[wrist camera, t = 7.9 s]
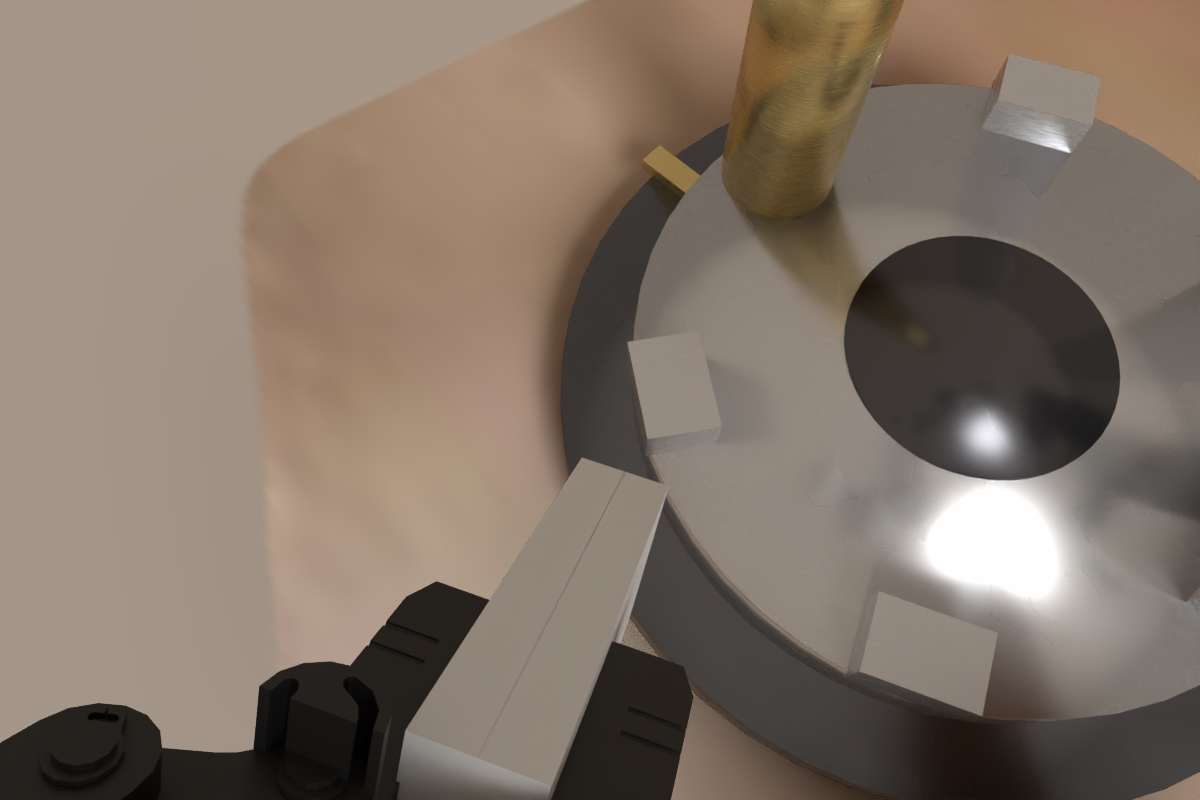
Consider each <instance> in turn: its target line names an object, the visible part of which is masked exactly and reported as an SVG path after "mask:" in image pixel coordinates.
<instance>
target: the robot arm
mask: <svg viewBox="0 0 1200 800" xmlns="http://www.w3.org/2000/svg"><path fill="white" fill-rule="evenodd" d="M668 488H669V486H667V485H664V484H661V483H658V482H655V481H652V480H649V479H646V478H643V477H640V476H637V475H634V474H631V473H628V472H625V471H621V470H618V469H615V468H612V467H609V466H606V465H603V464H600V463H597V462H594V461H591V460H588V459H585V458H581V460H580V461H579V463H578V464H577V466H576V467H575V469H574V470H573V472H572V474H571V475H570V477H569V478H568V480H567V481H566V483H565V484H564V486H563V487H562V489H561V491H560V492H559V494H558V495H557V497H556V498H555V500H554V501H553V503H552V504H551V506H550V508H549V509H548V511H547V512H546V514H545V515H544V517H543V518H542V520H541V522H540V523H539V525H538V526H537V528H536V529H535V531H534V532H533V534H532V535H531V537H530V539H529V540H528V542H527V543H526V545H525V546H524V548H523V549H522V551H521V552H520V554H519V556H518V557H517V559H516V560H515V562H514V563H513V565H512V566H511V568H510V569H509V571H508V573H507V574H506V576H505V577H504V579H503V580H502V582H501V583H500V585H499V586H498V588H497V590H496V591H495V593H494V594H493V596H492V597H491V599H490V600H488V599H485V598H482V597H479V596H476V595H474V594H471V593H468V592H465V591H462V590H460V589H457V588H454V587H451V586H448V585H445V584H443V583H440V582H437V581H436V582H434V583H432V584H430V585H428V586H427V587H425V588H423V589H421V590H419V591H417V592H415V593H413V594H411V595H409V596H407V597H406V598H405V599H404V600H403V601H402V603H401V604H400V605H399V606H398V608H397V609H396V610H395V611H394V612H393V614H392V615H391V616H390V617H389V619H388V620H387V622H386V625H385V626H382V627H381V629H380V630H379V631H378V632H377V633H376V635H375V636H374V637H373V638H372V640H371V642H370V644H369V646H366V647H365V648H364V650H363V651H362V652H361V653H360V654H359V656H358V657H357V658H356V659H355V661H354V662H353V663H352V664H351V666H349V665H344V664H339V663H335V662H315V663H303V664H300V665H297V666H294V667H291V668H288V669H285V670H282V671H279V672H278V673H277V674H275V675H274V676H272V677H271V678H270V679H268V680H267V681H266V682H265V683H263V684H262V685H261V686H259V696H258V707H257V718H256V728H255V739H254V749H253V750H249V751H243V752H237V753H214V752H202V751H191V750H179V749H168V748H167V749H166V748H162V745H161V736H160V730H159V729H158V728H157V727H156V725H155V724H154V723H153V722H152V720H151V719H150V718H149V717H148V716H147V715H145V714H143V713H141V712H139V711H136V710H134V709H132V708H130V707H127V706H123V705H112V704H100V703H97V704H91V705H85V706H79V707H73V708H68V709H65V710H63V711H61V712H58V713H56V714H53V715H51V716H49V717H47V718H44V719H42V720H39V721H38V722H36V723H34V724H32V725H31V726H29V727H27V728H25V729H24V730H22V731H20V732H18V733H17V734H15V735H13V736H11V737H10V738H8V739H6V740H4V741H3V742H1V743H0V800H671V796H672V791H673V787H674V782H675V778H676V773H677V769H678V764H679V760H680V754H681V750H682V746H683V741H684V737H685V731H686V728H687V723H688V719H689V714H690V710H691V705H692V701H693V695H692V692H691V689H690V685H689V682H688V679H687V676H686V672H685V669H684V666H681V665H678V664H676V663H673V662H670V661H667V660H664V659H661V658H659V657H656V656H653V655H650V654H647V653H645V652H642V651H639V650H636V649H633V648H630V647H628V646H625V645H622V644H620V643H621V640H622V637H623V635H624V632H625V629H626V627H627V624H628V621H629V618H630V615H631V611H632V608H633V605H634V601H635V598H636V595H637V591H638V588H639V585H640V581H641V578H642V575H643V571H644V568H645V565H646V561H647V558H648V555H649V551H650V548H651V545H652V541H653V538H654V534H655V531H656V528H657V524H658V521H659V518H660V514H661V511H662V508H663V504H664V501H665V498H666V494H667V491H668Z"/></svg>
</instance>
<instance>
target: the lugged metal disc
mask: <svg viewBox="0 0 1200 800" xmlns="http://www.w3.org/2000/svg"><path fill="white" fill-rule="evenodd" d="M903 3H904V0H753V3H752V8H751V13H750V18H749V24H748V29H747V34H746V39H745V44H744V50H743V55H742V60H741V65H740V70H739V75H738V81H737V86H736V91H735V96H734V101H733V107H732V112H731V117H730V122H729V127H728V133H727V138H726V143H725V148H724V153H723V155H722V156H721V157H719V158H718V159H717V160H716V161H714V162H713V163H712V164H711V165H710V166H709V168H708V169H707V170H706V171H705V172H704V173H703V174H702V175H701V176H700V177H699V178H698V179H697V180H696V182H695V183H694V184H693V185H692V186H691V187H690V188H689V189H688V191H687V192H686V193H685V195H684V196H683V198H682V199H681V201H680V202H679V204H678V205H677V206H676V208H675V209H674V211H673V212H672V214H671V215H670V217H669V218H668V220H667V222H666V224H665V226H664V228H663V230H662V232H661V234H660V236H659V238H658V240H657V242H656V244H655V246H654V248H653V250H652V253H651V256H650V259H649V262H648V265H647V268H646V272H645V275H644V278H643V281H642V284H641V287H640V293H639V300H638V306H637V312H636V318H635V325H634V338H633V341H630V342H627V360H626V364H627V369H628V373H629V378H630V383H631V388H632V403H633V411H634V418H635V426H636V433H637V438H638V442H639V446H640V449H641V453H642V456H643V460H644V464H645V467H646V471H647V475H648V477H649V480H652V481H655V482H658V483H661V484H664V485H667V486H669V488H668V491H667V494H666V498H665V501H664V504H663V508H662V510H663V512H664V515H665V516H666V518H667V520H668V521H669V523H670V525H671V527H672V528H673V530H674V532H675V533H676V535H677V537H678V538H679V540H680V542H681V544H682V545H683V547H684V549H685V550H686V552H687V554H688V555H689V556H690V557H691V559H692V560H693V561H694V563H695V564H696V565H697V566H698V568H699V569H700V570H701V572H702V573H703V574H704V575H705V577H706V578H707V579H708V581H709V582H710V583H711V584H712V586H713V587H714V588H715V590H716V591H717V592H718V593H719V594H720V595H721V596H722V597H723V598H724V599H725V600H726V601H727V602H728V603H729V604H730V605H731V606H732V607H733V608H734V609H735V610H736V611H737V612H738V613H739V614H740V615H741V616H742V617H743V618H744V619H745V620H746V621H747V622H748V623H749V624H750V625H752V626H753V627H754V628H755V629H757V630H758V631H759V632H761V633H762V634H763V635H764V636H766V637H767V638H768V639H770V640H771V641H772V642H773V643H775V644H776V645H777V646H779V647H780V648H781V649H782V650H784V651H785V652H786V653H787V654H789V655H790V656H792V657H794V658H795V659H797V660H799V661H800V662H802V663H804V664H805V665H807V666H809V667H811V668H812V669H814V670H816V671H817V672H819V673H821V674H822V675H824V676H826V677H827V678H829V679H831V680H832V681H835V682H837V683H839V684H841V685H844V686H846V687H848V688H850V689H853V690H855V691H857V692H860V693H862V694H864V695H866V696H869V697H871V698H873V699H875V700H878V701H881V702H884V703H888V704H891V705H894V706H898V707H901V708H904V709H908V710H911V711H914V712H918V713H921V714H924V715H929V716H935V717H941V718H947V719H954V720H960V721H966V722H972V723H993V724H1032V723H1040V722H1049V721H1057V720H1066V719H1075V718H1083V717H1092V716H1101V715H1109V714H1117V713H1121V712H1124V711H1128V710H1132V709H1136V708H1139V707H1143V706H1147V705H1150V704H1154V703H1158V702H1161V701H1165V700H1167V699H1170V698H1172V697H1174V696H1176V695H1178V694H1181V693H1183V692H1185V691H1187V690H1190V689H1192V688H1194V687H1196V686H1199V685H1200V181H1199V180H1198V179H1196V178H1195V177H1194V176H1193V175H1192V174H1190V173H1189V172H1188V171H1187V170H1185V169H1184V168H1182V167H1181V166H1179V165H1178V164H1176V163H1175V162H1173V161H1172V160H1170V159H1169V158H1167V157H1166V156H1164V155H1163V154H1161V153H1160V152H1158V151H1157V150H1155V149H1154V148H1152V147H1151V146H1149V145H1147V144H1145V143H1143V142H1141V141H1140V140H1138V139H1136V138H1134V137H1132V136H1130V135H1128V134H1127V133H1125V132H1123V131H1121V130H1119V129H1117V128H1115V127H1114V126H1111V125H1109V124H1107V123H1104V122H1102V121H1099V120H1097V119H1095V118H1094V114H1095V109H1096V103H1097V98H1098V92H1099V87H1100V82H1101V77H1098V76H1094V75H1090V74H1087V73H1083V72H1079V71H1075V70H1071V69H1067V68H1064V67H1060V66H1056V65H1052V64H1048V63H1044V62H1040V61H1037V60H1033V59H1029V58H1025V57H1021V56H1017V55H1014V54H1010V53H1009V55H1008V57H1007V59H1006V60H1005V62H1004V64H1003V66H1002V67H1001V69H1000V71H999V73H998V74H997V76H996V78H995V80H994V82H993V83H992V87H991V88H983V87H974V86H966V85H957V84H907V85H895V86H884V87H875V88H871V85H872V82H873V80H874V77H875V75H876V72H877V69H878V67H879V64H880V62H881V59H882V57H883V54H884V51H885V49H886V46H887V44H888V41H889V39H890V36H891V33H892V31H893V28H894V26H895V23H896V21H897V18H898V15H899V13H900V10H901V8H902V5H903Z"/></svg>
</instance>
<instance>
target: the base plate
mask: <svg viewBox="0 0 1200 800" xmlns="http://www.w3.org/2000/svg"><path fill="white" fill-rule="evenodd" d="M884 86H895V85H871V88H875V87H884ZM728 127H729V124H727V125H724V126H722V127H720V128H718V129H716V130H715V131H713V132H712V133H710V134H708V135H707V136H705V137H704V138H702V139H701V140H699V141H697V142H696V143H694V144H693V145H691V146H690V147H688V148H687V149H685V150H683V151H682V152H681V153H680V154H678V155H677V156H676V157H675V156H674V155H672V154H671V153H670V152H668V151H667V150H666V149H664V148H663V147H662V146H660V145H659V146H658V147H657V148H656V149H655V150H653V151H652V152H651V153H650V154H649V155H648V156H646V157H645V158H644V159H643V160H642V168H643V169H644V170H645V171H647V172H648V173H649V174H650V175H652V177H651V178H650V179H649V180H648V181H647V183H646V184H645V185H644V186H643V187H642V188H641V189H640V190H639V191H638V192H637V194H636V195H635V196H634V197H633V198H632V199H631V200H630V201H629V202H628V203H627V205H626V206H625V207H624V208H623V210H622V211H621V212H620V214H619V215H618V217H617V218H616V220H615V221H614V223H613V224H612V226H611V227H610V229H609V230H608V232H607V233H606V234H605V236H604V237H603V239H602V240H601V242H600V244H599V246H598V248H597V250H596V252H595V254H594V256H593V258H592V260H591V262H590V264H589V267H588V269H587V271H586V273H585V275H584V277H583V279H582V282H581V285H580V288H579V291H578V294H577V297H576V301H575V304H574V307H573V310H572V313H571V316H570V319H569V325H568V331H567V336H566V342H565V348H564V354H563V360H562V384H561V415H562V423H563V432H564V440H565V448H566V457H567V465H568V473H569V477H570V475H571V474H572V472H573V470H574V469H575V467H576V466H577V464H578V463H579V461H580V460H581V458H585V459H588V460H591V461H594V462H597V463H600V464H603V465H606V466H609V467H612V468H615V469H618V470H621V471H625V472H628V473H631V474H634V475H637V476H640V477H643V478H646V479H649V477H648V475H647V471H646V467H645V464H644V460H643V456H642V453H641V449H640V446H639V442H638V438H637V433H636V426H635V418H634V411H633V403H632V388H631V383H630V378H629V373H628V369H627V364H626V360H627V342H630V341H633V338H634V325H635V318H636V312H637V306H638V300H639V293H640V287H641V284H642V281H643V278H644V275H645V272H646V268H647V265H648V262H649V259H650V256H651V253H652V250H653V248H654V246H655V244H656V242H657V240H658V238H659V236H660V234H661V232H662V230H663V228H664V226H665V224H666V222H667V220H668V218H669V217H670V215H671V214H672V212H673V211H674V209H675V208H676V206H677V205H678V204H679V202H680V201H681V199H682V198H683V196H684V195H685V193H686V192H687V191H688V189H689V188H690V187H691V186H692V185H693V184H694V183H695V182H696V180H697V179H698V178H699V177H700V176H701V175H702V174H703V173H704V172H705V171H706V170H707V169H708V168H709V166H710V165H711V164H712V163H713V162H714V161H716V160H717V159H718V158H719V157H721V156H722V155H723V153H724V148H725V143H726V138H727V133H728ZM630 619H631V620H632V622H633V623H634V624H635V626H636V627H637V628H638V630H639V631H640V632H641V634H642V635H643V636H644V638H645V639H646V640H647V641H648V643H649V644H650V645H651V647H652V648H653V649H654V651H655V652H656V653H657V655H658V656H659V657H660V658H661V659H664V660H667V661H670V662H673V663H676V664H678V665H681V666H684V669H685V672H686V676H687V679H688V682H689V685H690V689H691V690H692V691H693V692H694V693H695V694H696V695H697V696H698V697H699V698H700V699H702V700H703V701H704V702H706V703H707V704H708V705H709V706H711V707H712V708H713V709H715V710H716V711H717V712H718V713H720V714H721V715H722V716H723V717H725V718H726V719H727V720H729V721H730V722H731V723H732V724H734V725H735V726H736V727H737V728H739V729H740V730H741V731H743V732H744V733H745V734H747V735H748V736H750V737H752V738H754V739H755V740H757V741H759V742H760V743H762V744H764V745H765V746H767V747H769V748H770V749H772V750H774V751H775V752H777V753H779V754H780V755H782V756H784V757H785V758H787V759H789V760H790V761H792V762H794V763H795V764H798V765H800V766H802V767H804V768H807V769H809V770H811V771H814V772H816V773H818V774H821V775H823V776H825V777H827V778H830V779H832V780H834V781H837V782H839V783H841V784H843V785H846V786H848V787H851V788H854V789H858V790H861V791H865V792H868V793H872V794H875V795H878V796H882V797H885V798H889V799H892V800H1132V799H1135V798H1138V797H1141V796H1144V795H1148V794H1151V793H1154V792H1157V791H1161V790H1164V789H1166V788H1168V787H1170V786H1172V785H1174V784H1176V783H1178V782H1180V781H1182V780H1184V779H1186V778H1188V777H1190V776H1192V775H1194V774H1196V773H1198V772H1200V685H1199V686H1196V687H1194V688H1192V689H1190V690H1187V691H1185V692H1183V693H1181V694H1178V695H1176V696H1174V697H1172V698H1170V699H1167V700H1165V701H1161V702H1158V703H1154V704H1150V705H1147V706H1143V707H1139V708H1136V709H1132V710H1128V711H1124V712H1121V713H1117V714H1109V715H1101V716H1092V717H1083V718H1075V719H1066V720H1057V721H1049V722H1040V723H1032V724H993V723H972V722H966V721H960V720H954V719H947V718H941V717H935V716H929V715H924V714H921V713H918V712H914V711H911V710H908V709H904V708H901V707H898V706H894V705H891V704H888V703H884V702H881V701H878V700H875V699H873V698H871V697H869V696H866V695H864V694H862V693H860V692H857V691H855V690H853V689H850V688H848V687H846V686H844V685H841V684H839V683H837V682H835V681H832V680H831V679H829V678H827V677H826V676H824V675H822V674H821V673H819V672H817V671H816V670H814V669H812V668H811V667H809V666H807V665H805V664H804V663H802V662H800V661H799V660H797V659H795V658H794V657H792V656H790V655H789V654H787V653H786V652H785V651H784V650H782V649H781V648H780V647H779V646H777V645H776V644H775V643H773V642H772V641H771V640H770V639H768V638H767V637H766V636H764V635H763V634H762V633H761V632H759V631H758V630H757V629H755V628H754V627H753V626H752V625H750V624H749V623H748V622H747V621H746V620H745V619H744V618H743V617H742V616H741V615H740V614H739V613H738V612H737V611H736V610H735V609H734V608H733V607H732V606H731V605H730V604H729V603H728V602H727V601H726V600H725V599H724V598H723V597H722V596H721V595H720V594H719V593H718V592H717V591H716V590H715V588H714V587H713V586H712V584H711V583H710V582H709V581H708V579H707V578H706V577H705V575H704V574H703V573H702V572H701V570H700V569H699V568H698V566H697V565H696V564H695V563H694V561H693V560H692V559H691V557H690V556H689V555H688V554H687V552H686V550H685V549H684V547H683V545H682V544H681V542H680V540H679V538H678V537H677V535H676V533H675V532H674V530H673V528H672V527H671V525H670V523H669V521H668V520H667V518H666V516H665V515H664V512H663V510H662V511H661V514H660V518H659V521H658V524H657V528H656V531H655V534H654V538H653V541H652V545H651V548H650V551H649V555H648V558H647V561H646V565H645V568H644V571H643V575H642V578H641V581H640V585H639V588H638V591H637V595H636V598H635V601H634V605H633V608H632V611H631V615H630Z"/></svg>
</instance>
